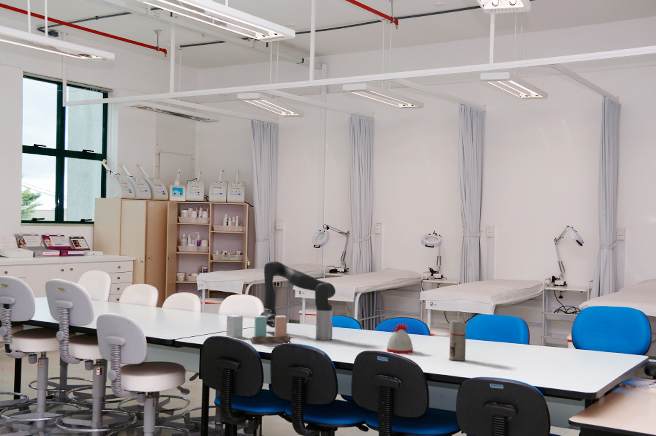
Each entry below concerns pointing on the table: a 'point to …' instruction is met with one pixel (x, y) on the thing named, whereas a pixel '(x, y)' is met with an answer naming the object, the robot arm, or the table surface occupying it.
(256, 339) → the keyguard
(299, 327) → the table surface
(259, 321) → the teal rectangular block
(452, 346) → the spray can
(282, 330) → the salmon pink rectangular block
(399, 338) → the grey and red dome
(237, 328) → the small box
